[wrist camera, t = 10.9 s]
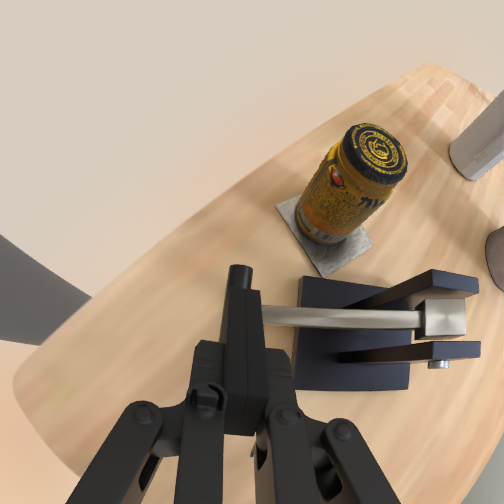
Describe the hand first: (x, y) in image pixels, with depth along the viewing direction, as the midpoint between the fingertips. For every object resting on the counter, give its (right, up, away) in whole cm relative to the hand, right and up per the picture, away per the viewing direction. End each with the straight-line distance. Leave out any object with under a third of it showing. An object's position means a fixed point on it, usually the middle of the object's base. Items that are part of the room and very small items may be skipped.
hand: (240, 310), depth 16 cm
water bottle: (+33, +16, +23) cm, 44 cm away
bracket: (+10, -5, +12) cm, 16 cm away
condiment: (+8, +5, +15) cm, 18 cm away
